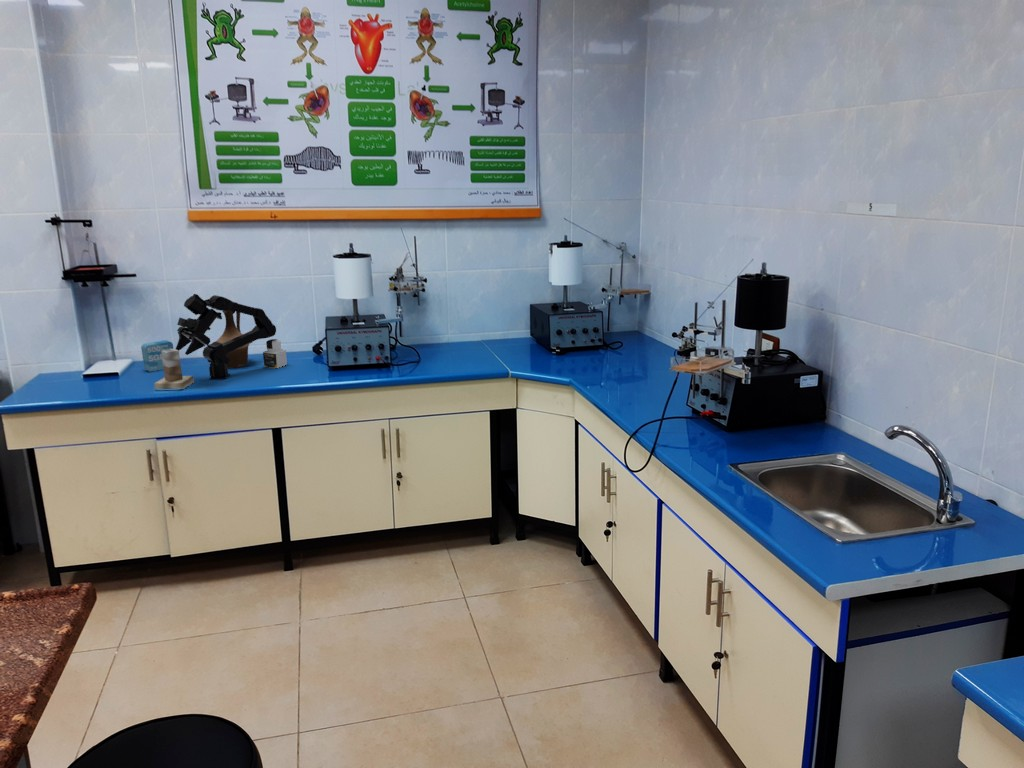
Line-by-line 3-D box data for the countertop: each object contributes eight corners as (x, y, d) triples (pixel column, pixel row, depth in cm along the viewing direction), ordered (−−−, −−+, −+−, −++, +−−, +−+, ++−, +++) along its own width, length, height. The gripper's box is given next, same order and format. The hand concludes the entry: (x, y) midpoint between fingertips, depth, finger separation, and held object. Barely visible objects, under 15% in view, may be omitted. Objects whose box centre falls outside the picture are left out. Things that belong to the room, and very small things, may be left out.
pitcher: (228, 359, 354) (221, 299, 346) (262, 360, 351) (256, 300, 343) (207, 369, 337) (200, 306, 329) (244, 370, 334) (237, 307, 327)
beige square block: (194, 382, 316) (193, 375, 315) (182, 390, 305) (181, 383, 304) (167, 383, 316) (166, 375, 315) (155, 390, 305) (154, 383, 305)
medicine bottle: (263, 367, 339) (261, 341, 335) (274, 363, 345) (271, 337, 342) (277, 369, 336) (274, 342, 333) (287, 365, 343) (285, 338, 339)
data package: (148, 372, 332) (144, 345, 329) (144, 370, 335) (140, 344, 332) (176, 367, 340) (172, 341, 337) (172, 365, 344) (168, 339, 340)
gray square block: (177, 377, 313) (173, 348, 310) (182, 379, 310) (178, 350, 306) (165, 379, 310) (161, 350, 306) (170, 382, 306) (166, 352, 303)
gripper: (179, 307, 315) (155, 337, 311) (199, 312, 303) (174, 344, 298) (200, 322, 323) (177, 353, 318) (220, 329, 310) (197, 360, 306)
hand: (181, 352), depth 310 cm, fingers open, 9 cm apart
